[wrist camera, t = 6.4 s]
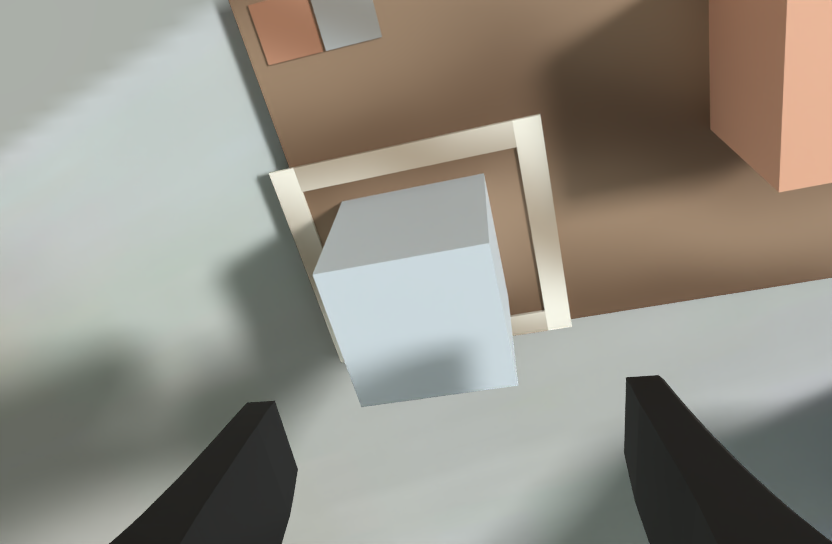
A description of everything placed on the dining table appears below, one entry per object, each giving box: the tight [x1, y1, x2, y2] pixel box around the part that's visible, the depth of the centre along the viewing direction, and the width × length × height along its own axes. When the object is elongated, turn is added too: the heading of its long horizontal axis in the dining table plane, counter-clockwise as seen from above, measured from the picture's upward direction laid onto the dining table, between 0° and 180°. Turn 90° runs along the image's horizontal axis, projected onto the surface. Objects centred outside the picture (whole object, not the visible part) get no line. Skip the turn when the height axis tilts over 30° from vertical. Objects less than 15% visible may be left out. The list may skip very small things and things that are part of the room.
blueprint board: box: [229, 0, 832, 363], centre depth 18 cm, size 13×18×1 cm
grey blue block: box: [313, 173, 518, 407], centre depth 18 cm, size 4×4×4 cm
